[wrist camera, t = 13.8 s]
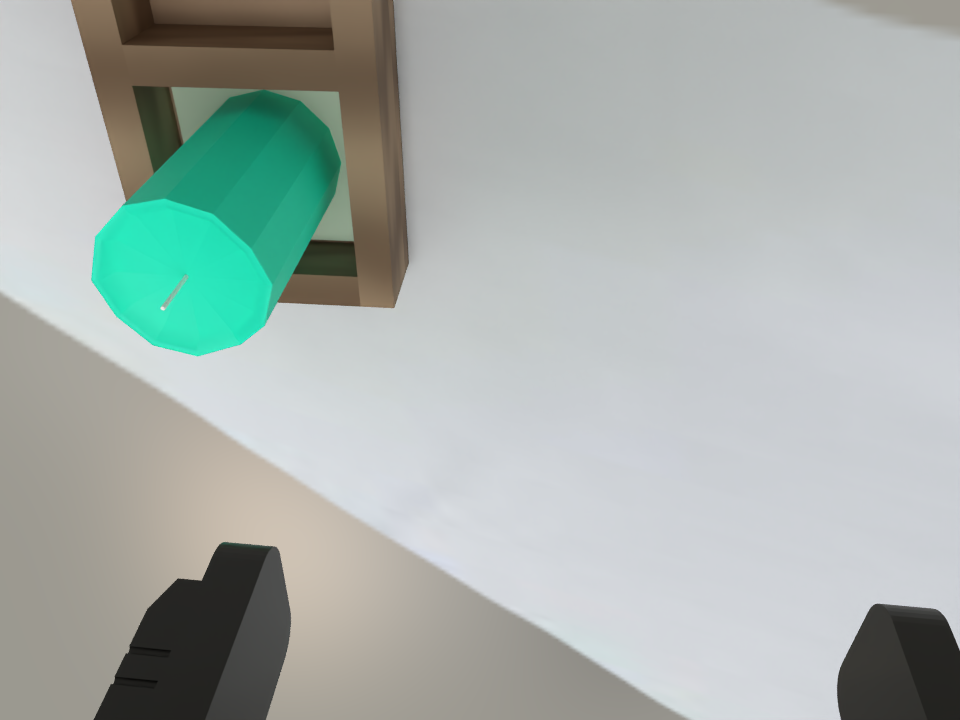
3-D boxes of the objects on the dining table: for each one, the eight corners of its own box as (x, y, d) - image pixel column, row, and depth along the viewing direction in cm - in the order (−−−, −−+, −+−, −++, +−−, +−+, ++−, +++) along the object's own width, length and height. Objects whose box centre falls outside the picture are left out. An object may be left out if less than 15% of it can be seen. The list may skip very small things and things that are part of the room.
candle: (216, 217, 38) (94, 376, 28) (192, 85, 34) (43, 217, 25) (346, 225, 38) (268, 389, 28) (335, 93, 34) (241, 229, 24)
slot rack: (59, -275, 29) (-6, -278, 25) (376, -277, 28) (350, -280, 25) (185, 253, 41) (152, 296, 37) (408, 263, 40) (394, 308, 37)
